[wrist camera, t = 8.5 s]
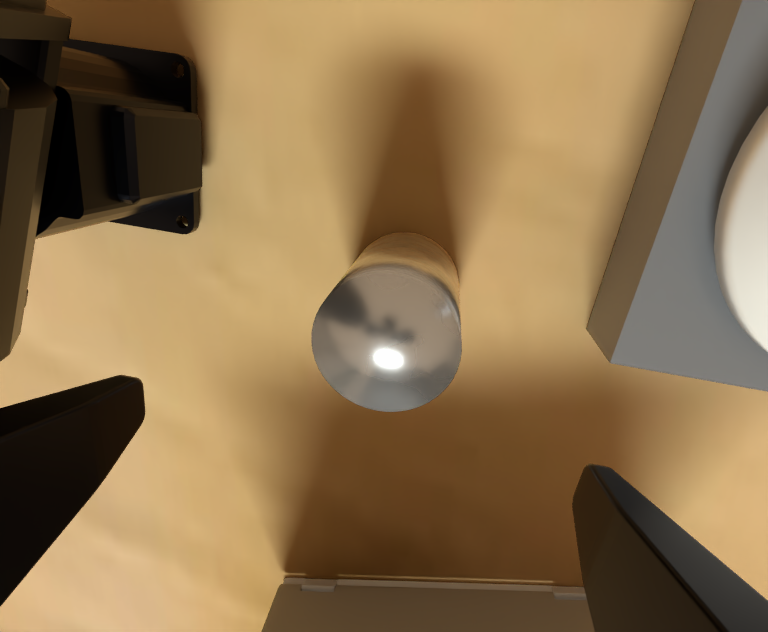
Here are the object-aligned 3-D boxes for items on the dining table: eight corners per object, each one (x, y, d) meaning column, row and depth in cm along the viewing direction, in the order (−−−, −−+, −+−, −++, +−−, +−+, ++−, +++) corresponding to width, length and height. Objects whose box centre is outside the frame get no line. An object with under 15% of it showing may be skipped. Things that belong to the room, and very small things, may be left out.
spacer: (346, 324, 20) (306, 396, 14) (358, 223, 18) (317, 261, 13) (447, 342, 20) (445, 424, 14) (468, 242, 18) (476, 289, 12)
